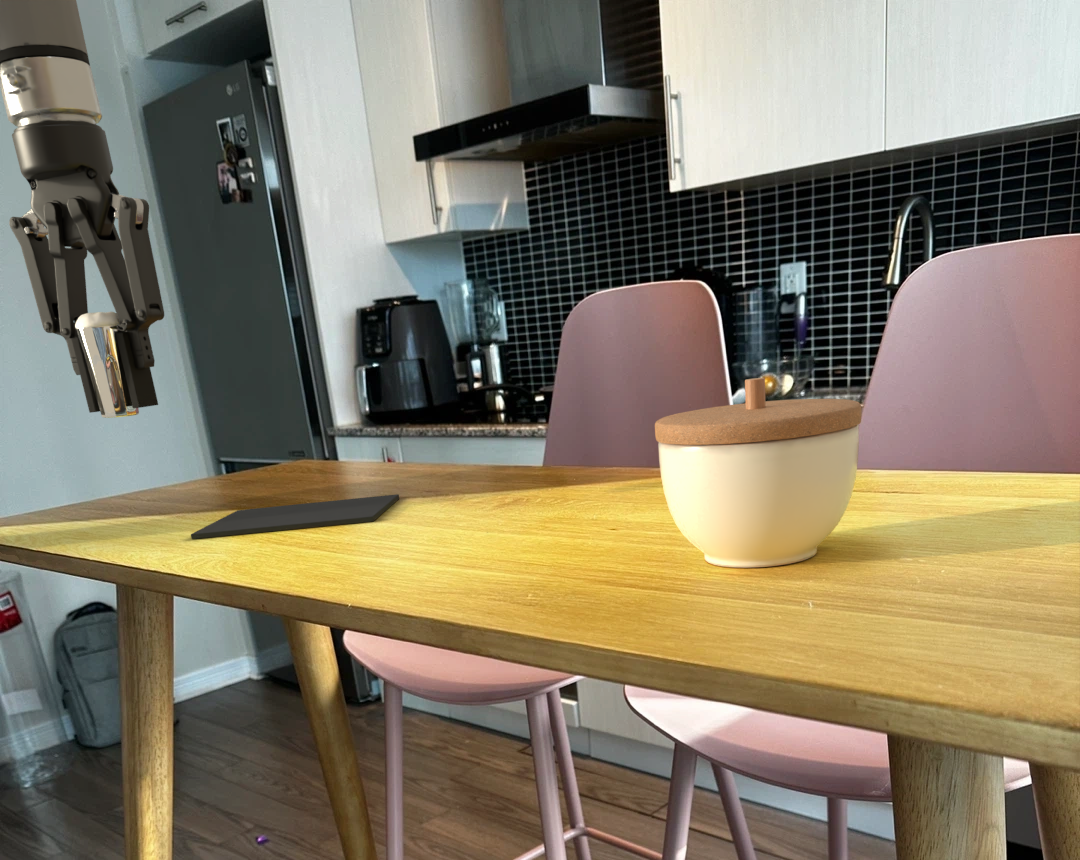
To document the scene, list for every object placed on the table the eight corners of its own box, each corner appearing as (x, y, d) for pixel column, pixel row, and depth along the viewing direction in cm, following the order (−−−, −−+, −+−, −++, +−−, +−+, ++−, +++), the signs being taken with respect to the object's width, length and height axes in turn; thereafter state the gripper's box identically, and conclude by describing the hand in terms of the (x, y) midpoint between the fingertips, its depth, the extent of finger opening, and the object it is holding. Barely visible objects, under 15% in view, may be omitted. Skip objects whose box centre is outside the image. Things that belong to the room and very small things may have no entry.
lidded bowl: (794, 586, 59) (790, 385, 55) (624, 569, 67) (611, 394, 64) (896, 540, 67) (899, 362, 63) (733, 530, 76) (727, 373, 72)
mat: (191, 539, 99) (190, 534, 99) (238, 514, 112) (237, 510, 112) (373, 521, 98) (372, 516, 98) (399, 498, 111) (398, 494, 111)
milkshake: (163, 411, 98) (141, 298, 94) (117, 418, 93) (92, 300, 90) (130, 412, 100) (108, 301, 96) (84, 418, 96) (59, 303, 92)
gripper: (-55, 137, 88) (21, 420, 96) (109, 101, 82) (176, 405, 90) (11, 148, 94) (78, 411, 102) (168, 115, 89) (225, 397, 97)
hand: (123, 408), depth 96 cm, fingers closed on milkshake, 4 cm apart
